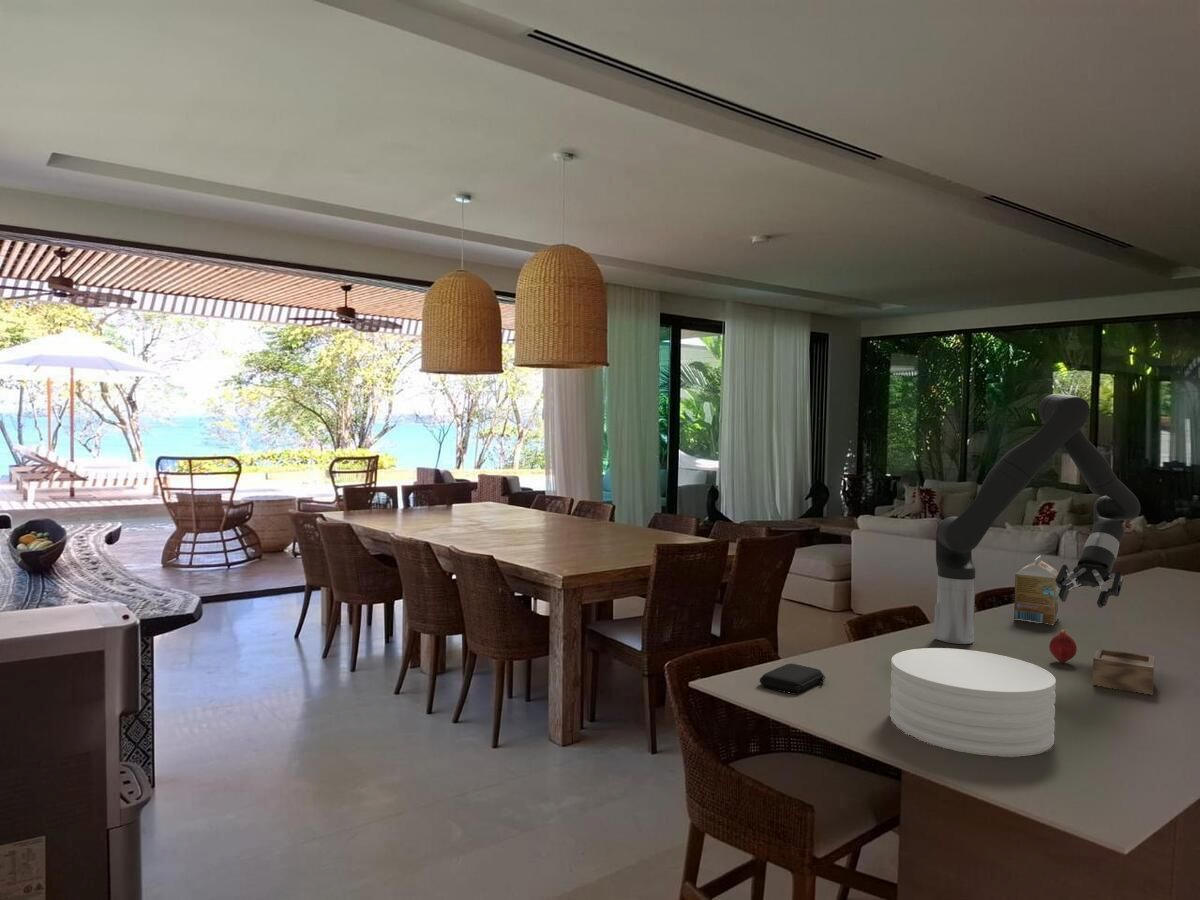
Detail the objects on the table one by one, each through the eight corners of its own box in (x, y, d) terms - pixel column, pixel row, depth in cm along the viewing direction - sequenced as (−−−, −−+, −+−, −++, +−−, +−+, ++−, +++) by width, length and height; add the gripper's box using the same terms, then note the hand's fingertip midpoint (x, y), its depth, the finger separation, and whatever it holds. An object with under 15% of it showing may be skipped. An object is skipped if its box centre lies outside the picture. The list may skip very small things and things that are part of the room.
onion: (1080, 666, 192) (1081, 633, 192) (1054, 665, 193) (1054, 632, 193) (1071, 660, 198) (1071, 628, 197) (1045, 658, 199) (1046, 626, 199)
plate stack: (976, 768, 132) (978, 699, 132) (858, 713, 158) (860, 655, 157) (1090, 744, 143) (1091, 681, 143) (962, 696, 169) (964, 642, 169)
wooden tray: (1092, 685, 178) (1093, 658, 177) (1096, 673, 186) (1097, 648, 186) (1152, 695, 171) (1153, 667, 171) (1153, 682, 180) (1154, 656, 180)
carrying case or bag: (801, 699, 166) (831, 683, 177) (801, 684, 166) (832, 669, 177) (755, 688, 173) (788, 673, 184) (756, 674, 173) (788, 660, 184)
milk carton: (1019, 614, 249) (1021, 553, 249) (1058, 619, 243) (1060, 557, 243) (1014, 620, 241) (1015, 557, 240) (1054, 625, 235) (1055, 561, 234)
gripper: (1065, 541, 212) (1046, 589, 205) (1126, 547, 201) (1108, 598, 194) (1073, 559, 216) (1054, 607, 209) (1133, 566, 205) (1116, 617, 198)
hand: (1080, 602), depth 201 cm, fingers open, 8 cm apart
